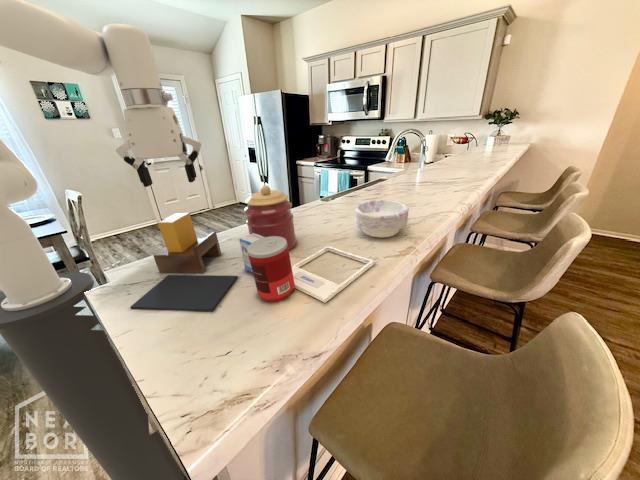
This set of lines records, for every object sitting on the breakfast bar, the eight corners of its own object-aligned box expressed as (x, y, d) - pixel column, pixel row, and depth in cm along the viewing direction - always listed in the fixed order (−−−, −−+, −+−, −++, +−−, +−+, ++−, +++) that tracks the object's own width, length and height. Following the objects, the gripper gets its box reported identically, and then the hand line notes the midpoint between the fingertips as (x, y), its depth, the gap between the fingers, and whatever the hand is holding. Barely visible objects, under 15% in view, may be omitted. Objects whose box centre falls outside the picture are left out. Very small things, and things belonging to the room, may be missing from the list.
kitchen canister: (284, 233, 85) (276, 178, 77) (305, 246, 75) (298, 184, 67) (245, 245, 78) (232, 186, 71) (262, 261, 68) (249, 195, 61)
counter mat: (131, 309, 54) (129, 306, 54) (168, 277, 65) (167, 275, 64) (212, 311, 51) (212, 309, 51) (237, 277, 62) (237, 275, 62)
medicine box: (245, 270, 65) (238, 238, 61) (259, 262, 68) (253, 231, 64) (265, 280, 60) (258, 246, 56) (279, 271, 63) (274, 239, 59)
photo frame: (276, 274, 60) (327, 245, 71) (276, 278, 60) (327, 248, 72) (324, 298, 50) (374, 260, 62) (325, 302, 51) (374, 264, 63)
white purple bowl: (392, 247, 70) (393, 219, 67) (345, 235, 80) (344, 210, 76) (415, 228, 81) (417, 203, 77) (371, 219, 90) (371, 197, 87)
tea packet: (167, 252, 66) (157, 222, 62) (184, 240, 72) (175, 212, 69) (182, 252, 65) (172, 222, 62) (197, 240, 72) (189, 212, 68)
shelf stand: (159, 272, 67) (150, 248, 64) (182, 254, 76) (175, 232, 73) (203, 272, 65) (195, 247, 62) (221, 254, 74) (215, 231, 71)
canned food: (298, 279, 59) (291, 235, 54) (289, 303, 52) (279, 255, 47) (266, 279, 60) (256, 236, 55) (252, 302, 53) (240, 255, 48)
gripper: (194, 99, 59) (212, 176, 66) (110, 105, 57) (138, 184, 64) (184, 96, 52) (205, 182, 59) (88, 102, 50) (122, 191, 57)
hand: (170, 183), depth 62 cm, fingers open, 9 cm apart
